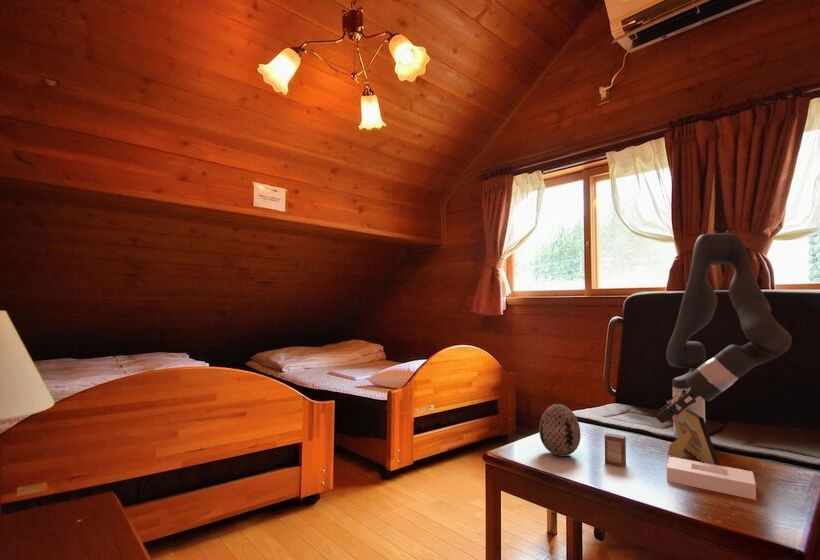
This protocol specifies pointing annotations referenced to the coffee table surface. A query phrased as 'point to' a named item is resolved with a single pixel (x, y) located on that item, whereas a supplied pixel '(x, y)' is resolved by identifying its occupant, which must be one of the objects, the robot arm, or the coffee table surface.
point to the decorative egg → (559, 430)
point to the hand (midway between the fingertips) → (660, 416)
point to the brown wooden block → (615, 450)
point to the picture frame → (692, 437)
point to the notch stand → (712, 477)
